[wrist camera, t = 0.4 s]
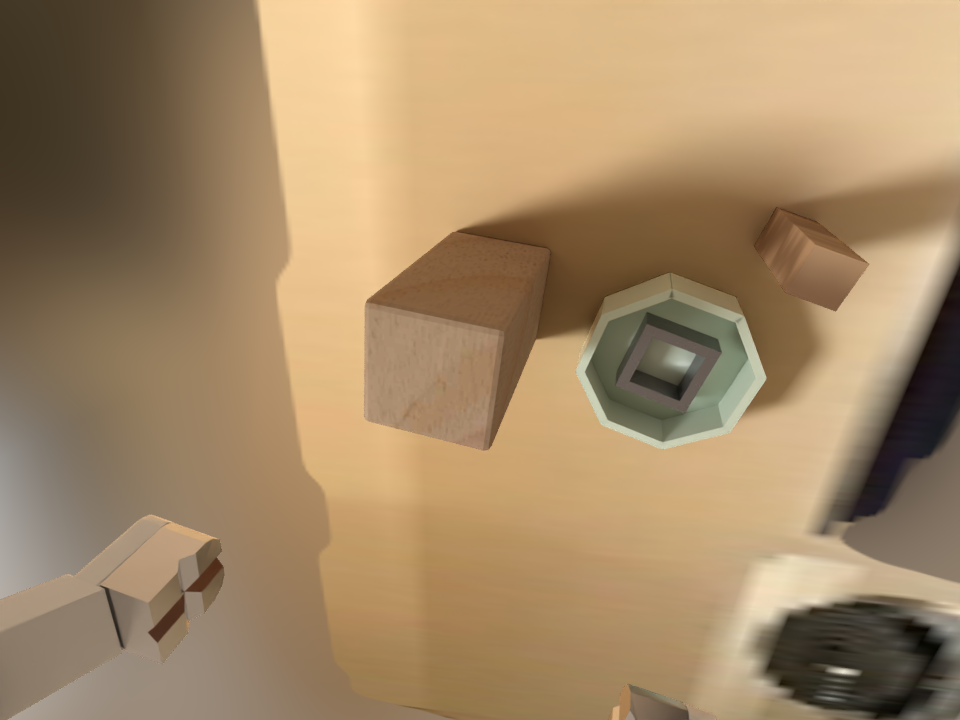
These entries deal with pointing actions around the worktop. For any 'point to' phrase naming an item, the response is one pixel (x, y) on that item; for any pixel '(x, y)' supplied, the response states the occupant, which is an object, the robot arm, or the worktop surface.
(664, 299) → the octagonal green tray
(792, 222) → the wooden rectangular beam
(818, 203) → the worktop surface
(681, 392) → the square frame
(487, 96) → the worktop surface
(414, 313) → the wooden block
